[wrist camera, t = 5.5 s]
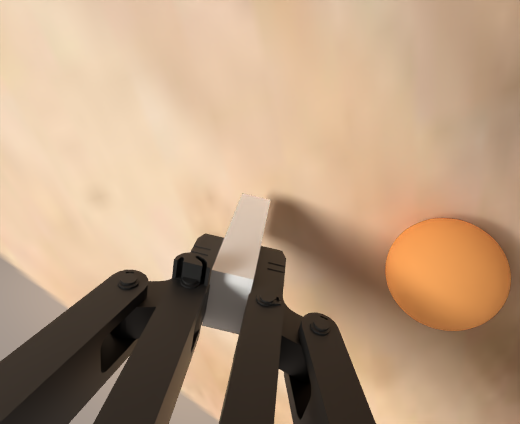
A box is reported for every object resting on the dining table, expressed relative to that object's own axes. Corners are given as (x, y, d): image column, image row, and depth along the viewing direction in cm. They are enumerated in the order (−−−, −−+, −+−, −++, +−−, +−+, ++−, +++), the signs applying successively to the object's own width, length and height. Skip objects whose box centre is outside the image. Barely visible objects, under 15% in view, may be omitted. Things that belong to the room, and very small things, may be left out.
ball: (363, 270, 21) (380, 340, 17) (398, 189, 19) (430, 244, 14) (452, 291, 21) (495, 368, 17) (499, 213, 19) (566, 277, 14)
